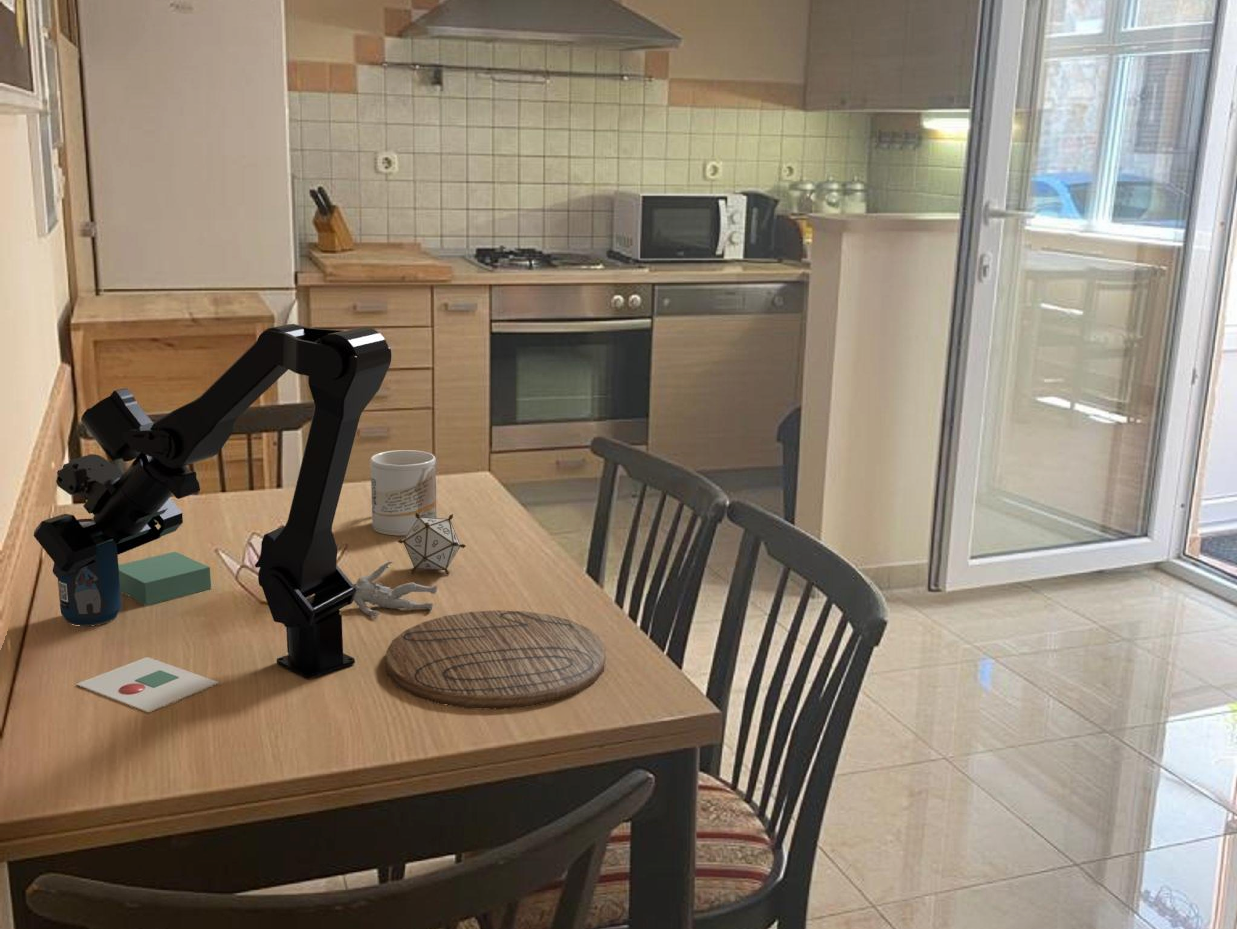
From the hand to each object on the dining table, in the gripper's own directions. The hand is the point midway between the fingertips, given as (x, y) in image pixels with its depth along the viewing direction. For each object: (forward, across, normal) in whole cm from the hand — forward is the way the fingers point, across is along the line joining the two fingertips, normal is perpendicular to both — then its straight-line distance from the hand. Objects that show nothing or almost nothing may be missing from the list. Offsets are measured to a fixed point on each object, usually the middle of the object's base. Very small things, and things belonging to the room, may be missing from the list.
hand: (78, 565), depth 153 cm
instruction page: (-10, +12, +20) cm, 26 cm away
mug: (-6, -51, +15) cm, 53 cm away
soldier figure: (-18, -19, +28) cm, 38 cm away
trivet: (-32, -9, +42) cm, 54 cm away
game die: (-16, -34, +26) cm, 45 cm away
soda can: (+4, 0, +6) cm, 7 cm away
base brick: (+4, -12, +6) cm, 14 cm away
